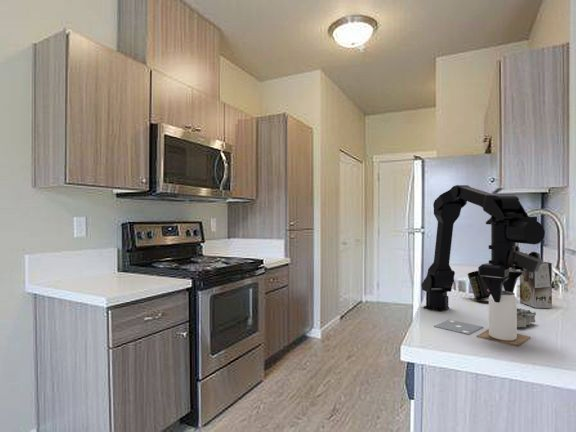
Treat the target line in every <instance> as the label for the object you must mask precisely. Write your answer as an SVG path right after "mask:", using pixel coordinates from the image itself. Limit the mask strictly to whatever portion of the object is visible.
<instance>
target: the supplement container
mask: <svg viewBox="0 0 576 432" xmlns="http://www.w3.org/2000/svg"><path fill="white" fill-rule="evenodd" d="M467 277H468V280H469V283H470V288H471V291H472V293H473V296H474V300H475V301H478V302H480V301H485V300H486V301H487V300H488V301H489V296H490V294H491V293H490V291H489V289H488V287H487V285H486V284H485V282H484V280H483V278H481V275H478V270H475V271H472V272H471V271H470V272H469V273H467Z"/></svg>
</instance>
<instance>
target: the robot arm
mask: <svg viewBox="0 0 576 432" xmlns="http://www.w3.org/2000/svg"><path fill="white" fill-rule="evenodd" d="M468 202H469V203H471V204H474V205H476V206H479V207H481V208H482V210H483V212H484V213H486V214H488V215H489V216H490V218H489V219H487V221H485V225H490V227H491V228H490V232H491V233H490V235H491V236H490V238H491V239H490V244H489V245H488V250H490V251H491V252H490V254H491V255H490V256H491V257H490V259H488V263H483V264H481V265H479V267H478V268H477V269H478V270H477V271H478V275H481V278H483V280H484V282H485V284H486V285H487V287H488V289H489V291H490V293H491V295H492V297H493V299H494V301H495V302H498V303H499V302H500V299H501V293H502V291H509V292H513V293H514V291H515V287H516V285H517V281H518V279H519V278H520V276H521V275H522V274H524V273H525V272H521V271H526V270H527V271H529V272H533V273H534V272H535V271H538V269H539V267H540V265H542V261H543V258H541V256H540V255H541V254H540V253H539V252H537V251H531V252H530V253H527V252H522V251H520V246H519V245H517V244H526V245H527V244H528V245H538V244H540V243H541V242H543V239H545V236H546V235H545V233H546V232H545V229H544V227H543V225H542V223H541V222H539V221H538V216H530V215H529V214H528V213H527V211H526V210H525V208H524V206H523V204H521V202H520V198H519V197H518V196H517V195H514V194H494V193H491V192H487V191H485V190H480V189H479V188H475V187H472V186H470V185H468V184H467V185H465V184H464V185H461V184H455V185H452V187H451V188H450V189H448V190H447V191H444V192H443V193H441V194H440V195H439V196H438V197H437V198H435V199H434V201H433V205H432V206H433V215H434V217H435V219H436V222H437V226H436V228H437V229H436V236H435V238H436V239H435V247H434V256H433V257H434V258H433V263H431V265H430V266H429V268H428V269H427V272H426V277H425V278H424V279H423V281H422V282H421V289H422V291H424V292H425V305H424V306H423V309H428V310H432V311H439V312H443V311H445V310H448V309H450V306H449V295H448V292H452V289H453V285H454V283H455V275H456V274H455V273H456V272H455V271H454V270H453V268H452V267H451V265H450V260H451V250H452V249H451V248H452V241H453V232H454V224H455V222H457V220H458V219H459V217H460V216H461V212H462V208H464V207H465V206H466V205H467V203H468ZM520 270H521V271H520ZM503 289H504V290H503Z"/></svg>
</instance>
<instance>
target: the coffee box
mask: <svg viewBox="0 0 576 432" xmlns="http://www.w3.org/2000/svg"><path fill="white" fill-rule="evenodd" d="M552 265H553V263H552V262H548V261H543V260H542V265H540V267H539V269H538V271H535V272H534V273H533V272H529V271H527V270H526V271H521V270H519V271H521V272H525V273H524V274H522V275H521V276H520V277H519V302H520V303H521V304H524V305H526V306H529V307H532V308H535V309H536V308H537V309H539V308H542V309H551V308H553V306H552V305H553V303H552V302H553V299H552V298H553V296H552V295H553V294H552V292H553V291H552V290H553V287H552V286H553V285H552V283H553V277H552V276H553V275H552V274H553V273H552V272H553V267H552Z"/></svg>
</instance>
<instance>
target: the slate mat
mask: <svg viewBox="0 0 576 432" xmlns="http://www.w3.org/2000/svg"><path fill="white" fill-rule="evenodd" d="M433 327H434V328H438V329H441V330H446V331H450V332H454V333H459V334H463V335H466V336H470V335H472V334H474V333H476V332H478V331H480V330H482V329H484V326H482V325H477V324H472V323H468V322H463V321H459V320H453V319H447V320H445V321H442V322H440V323H437V324H436V325H433Z"/></svg>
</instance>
